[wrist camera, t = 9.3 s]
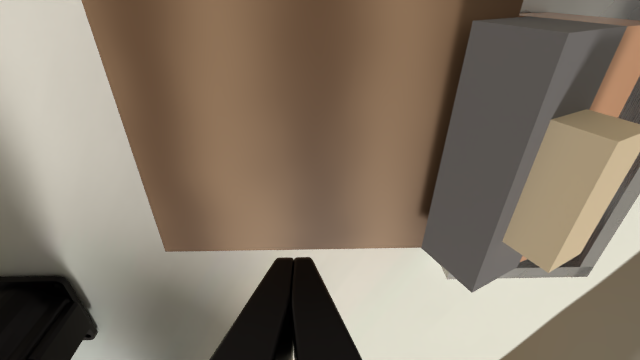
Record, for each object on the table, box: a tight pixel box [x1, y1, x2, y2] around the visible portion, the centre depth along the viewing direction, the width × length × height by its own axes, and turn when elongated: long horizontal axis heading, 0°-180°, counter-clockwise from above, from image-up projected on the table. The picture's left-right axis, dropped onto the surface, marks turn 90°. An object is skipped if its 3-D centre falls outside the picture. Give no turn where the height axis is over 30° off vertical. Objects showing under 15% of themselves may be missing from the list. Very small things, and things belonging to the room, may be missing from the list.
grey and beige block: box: [421, 16, 640, 292], centre depth 12 cm, size 3×10×5 cm, turn 179°
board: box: [82, 0, 523, 252], centre depth 15 cm, size 15×12×3 cm
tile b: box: [519, 12, 640, 118], centre depth 13 cm, size 4×4×2 cm
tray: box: [441, 0, 640, 279], centre depth 16 cm, size 8×17×3 cm, turn 0°
